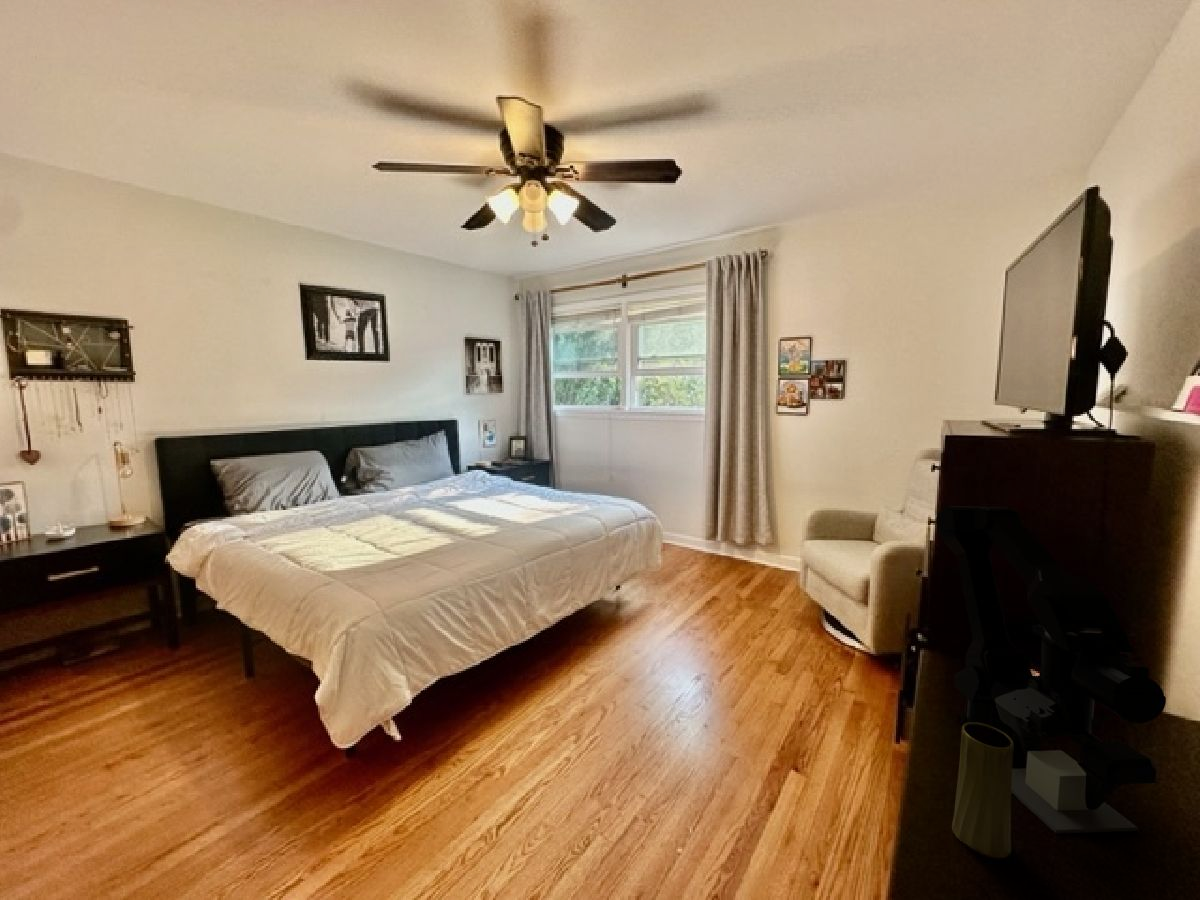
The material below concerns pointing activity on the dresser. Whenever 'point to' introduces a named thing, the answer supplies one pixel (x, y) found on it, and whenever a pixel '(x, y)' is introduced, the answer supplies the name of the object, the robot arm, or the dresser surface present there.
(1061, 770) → the cube
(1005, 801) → the vase
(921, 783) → the dresser surface
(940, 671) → the dresser surface
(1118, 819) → the mat
